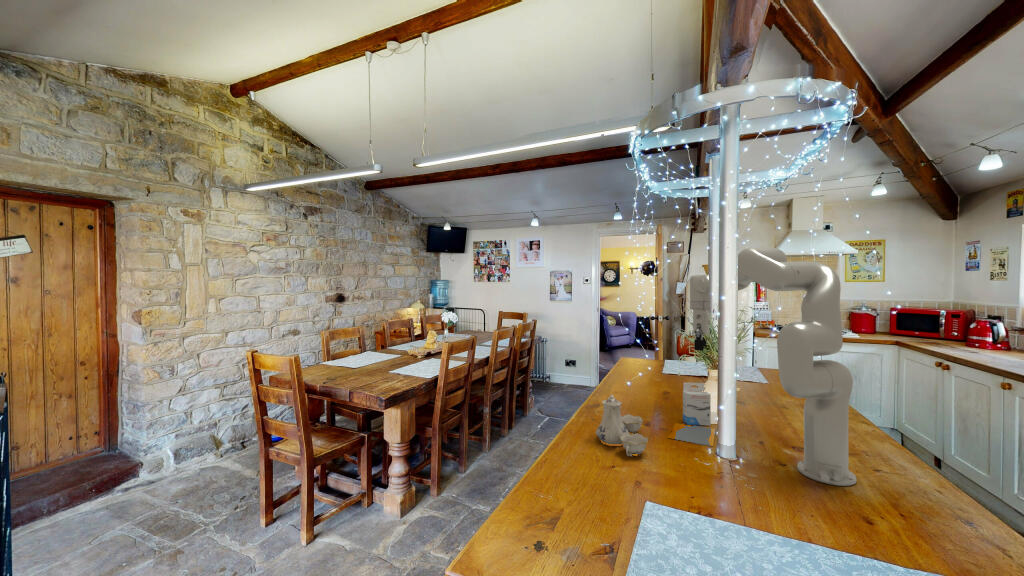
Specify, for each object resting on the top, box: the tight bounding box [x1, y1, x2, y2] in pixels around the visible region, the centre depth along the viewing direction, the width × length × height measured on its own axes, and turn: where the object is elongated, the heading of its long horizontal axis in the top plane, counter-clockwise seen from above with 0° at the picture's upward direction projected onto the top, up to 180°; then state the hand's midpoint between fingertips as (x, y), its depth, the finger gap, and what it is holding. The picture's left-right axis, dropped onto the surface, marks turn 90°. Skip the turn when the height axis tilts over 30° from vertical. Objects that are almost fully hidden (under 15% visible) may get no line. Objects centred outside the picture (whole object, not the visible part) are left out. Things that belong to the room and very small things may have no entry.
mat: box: [675, 425, 717, 447], centre depth 135 cm, size 16×14×1 cm
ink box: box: [682, 382, 712, 426], centre depth 145 cm, size 9×5×15 cm, turn 84°
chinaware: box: [595, 394, 650, 457], centre depth 130 cm, size 28×17×17 cm, turn 171°
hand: (700, 348), depth 154 cm, fingers open, 9 cm apart
